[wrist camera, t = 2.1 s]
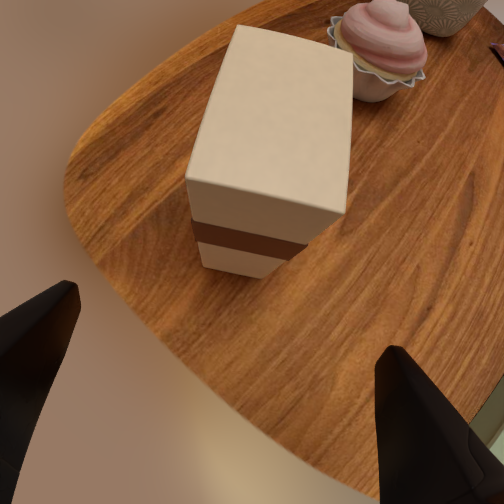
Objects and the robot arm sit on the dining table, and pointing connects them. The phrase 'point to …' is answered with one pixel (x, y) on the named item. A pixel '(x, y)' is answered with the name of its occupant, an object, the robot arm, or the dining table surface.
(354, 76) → the cupcake
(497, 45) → the snack package
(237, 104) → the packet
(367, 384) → the dining table surface
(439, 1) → the planter
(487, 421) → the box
